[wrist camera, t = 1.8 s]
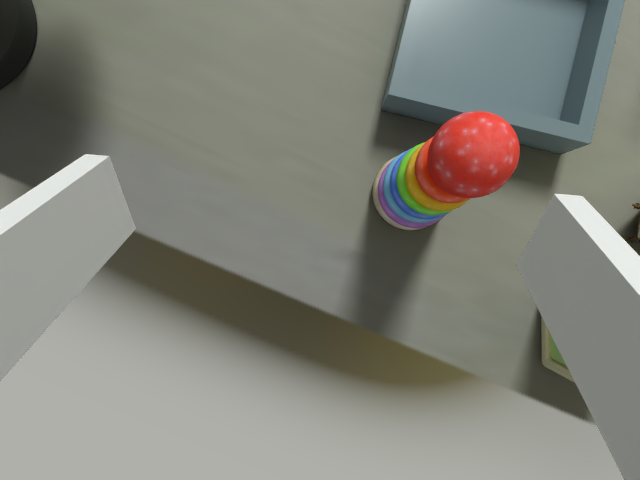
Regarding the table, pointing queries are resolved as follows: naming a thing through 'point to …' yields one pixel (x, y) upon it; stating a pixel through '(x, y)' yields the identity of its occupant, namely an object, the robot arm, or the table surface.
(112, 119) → the table surface
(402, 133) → the table surface
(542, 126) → the tray
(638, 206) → the game die
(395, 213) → the stacking toy
